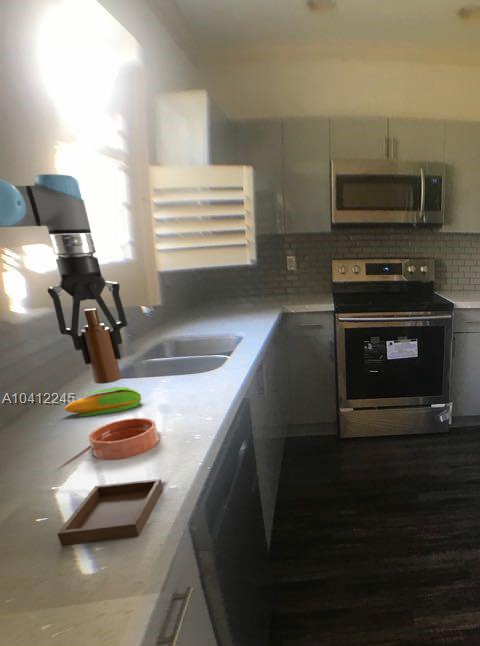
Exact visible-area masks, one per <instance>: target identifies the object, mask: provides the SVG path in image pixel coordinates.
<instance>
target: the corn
mask: <svg viewBox="0 0 480 646" xmlns="http://www.w3.org/2000/svg"><path fill="white" fill-rule="evenodd" d="M91 394H92V395H91ZM83 395H84V396H85V397H82V398H79V399H77V400H74V401H71V402H70V403H68V404H67V405H66V406H65V407H64V410H65V411H66V412H68V413H70V414H71V413H73V414H78V415H76V418H81V417H82V418H83V417H90V416H98V415H103V414H110V413H118V412H123V411H126V410H130V409H133V408H135V407H137V406H139V405H140V403H141V401H142V394H141V393H140V392H139V391H137V390H135V389H132V388H129V387H125V386H123V387H121V386H120V387H117V386H114V387H110V388H103V389H98V390H94V391H90V392H89V391H88V392H85V393H83ZM86 395H89V396H86Z"/></svg>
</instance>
